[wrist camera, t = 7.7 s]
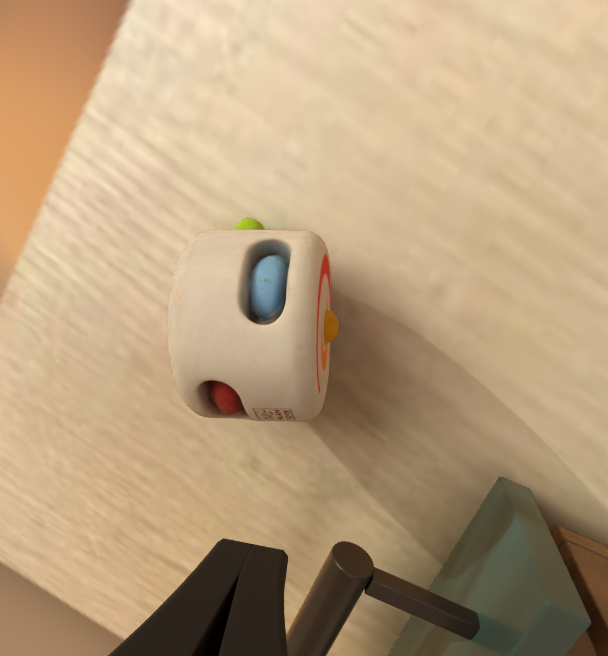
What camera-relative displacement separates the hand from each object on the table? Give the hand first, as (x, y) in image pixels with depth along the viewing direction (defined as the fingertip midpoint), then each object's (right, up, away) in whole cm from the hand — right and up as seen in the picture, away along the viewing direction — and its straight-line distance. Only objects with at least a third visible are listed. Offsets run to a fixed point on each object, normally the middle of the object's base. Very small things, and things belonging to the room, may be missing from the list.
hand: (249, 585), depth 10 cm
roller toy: (0, +6, +9) cm, 11 cm away
